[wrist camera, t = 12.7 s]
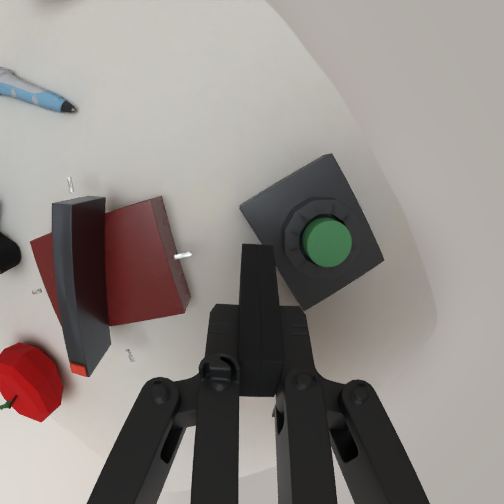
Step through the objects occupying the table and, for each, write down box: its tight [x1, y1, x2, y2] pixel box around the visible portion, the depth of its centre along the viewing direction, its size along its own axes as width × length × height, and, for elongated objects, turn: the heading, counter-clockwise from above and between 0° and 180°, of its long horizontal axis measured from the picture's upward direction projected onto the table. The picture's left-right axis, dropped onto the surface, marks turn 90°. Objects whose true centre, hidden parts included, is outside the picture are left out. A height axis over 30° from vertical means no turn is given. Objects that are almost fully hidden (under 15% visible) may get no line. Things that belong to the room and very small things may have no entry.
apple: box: [0, 343, 63, 422], centre depth 25 cm, size 11×11×10 cm
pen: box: [0, 67, 75, 112], centre depth 19 cm, size 19×3×3 cm, turn 62°
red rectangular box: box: [30, 177, 192, 362], centre depth 25 cm, size 18×18×4 cm
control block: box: [240, 153, 384, 311], centre depth 24 cm, size 11×9×4 cm
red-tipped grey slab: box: [52, 196, 111, 377], centre depth 20 cm, size 14×2×6 cm, turn 173°
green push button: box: [302, 217, 352, 267], centre depth 22 cm, size 4×4×2 cm
